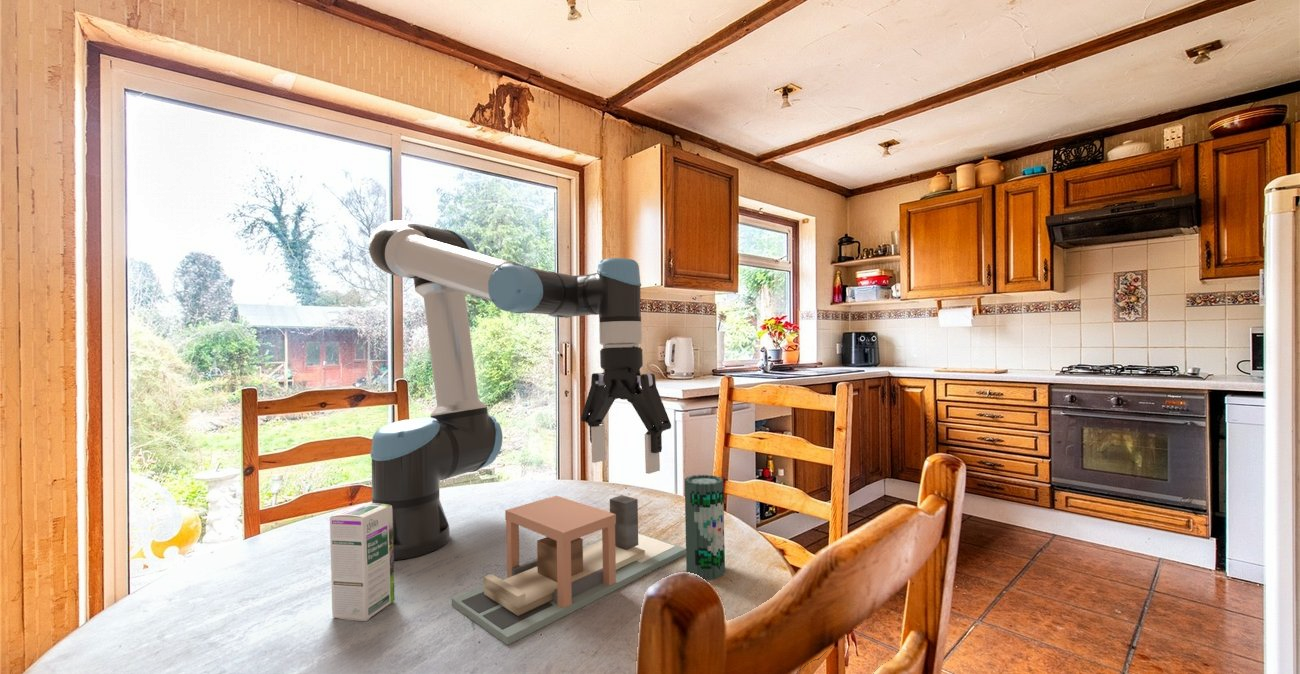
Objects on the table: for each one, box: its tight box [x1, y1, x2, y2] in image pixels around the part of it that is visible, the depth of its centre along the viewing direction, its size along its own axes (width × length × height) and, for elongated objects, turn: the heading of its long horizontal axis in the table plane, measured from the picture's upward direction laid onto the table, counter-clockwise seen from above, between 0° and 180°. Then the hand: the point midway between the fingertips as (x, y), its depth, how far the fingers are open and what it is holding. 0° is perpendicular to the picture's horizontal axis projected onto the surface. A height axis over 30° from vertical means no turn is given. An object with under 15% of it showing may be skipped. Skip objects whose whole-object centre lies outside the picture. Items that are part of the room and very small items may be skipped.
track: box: [451, 495, 686, 646], centre depth 82 cm, size 15×36×12 cm, turn 137°
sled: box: [483, 494, 645, 616], centre depth 81 cm, size 9×26×9 cm, turn 137°
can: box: [684, 474, 726, 580], centre depth 83 cm, size 6×6×15 cm
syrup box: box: [329, 502, 396, 622], centre depth 73 cm, size 6×6×14 cm
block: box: [536, 536, 584, 582], centre depth 79 cm, size 5×5×5 cm
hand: (624, 466), depth 89 cm, fingers open, 13 cm apart
